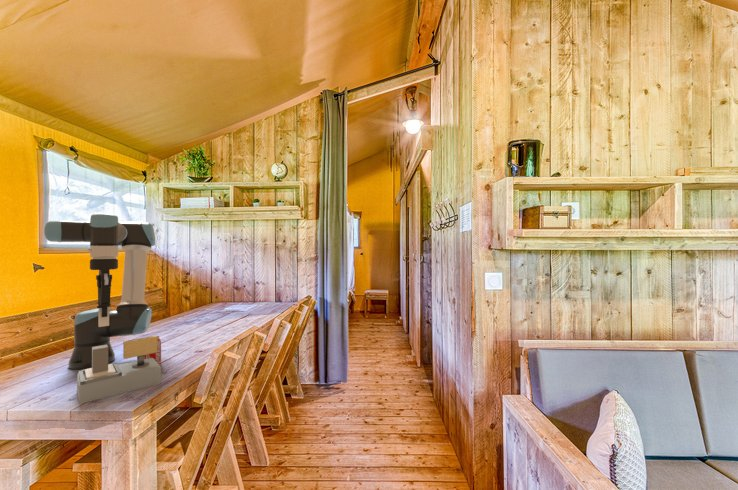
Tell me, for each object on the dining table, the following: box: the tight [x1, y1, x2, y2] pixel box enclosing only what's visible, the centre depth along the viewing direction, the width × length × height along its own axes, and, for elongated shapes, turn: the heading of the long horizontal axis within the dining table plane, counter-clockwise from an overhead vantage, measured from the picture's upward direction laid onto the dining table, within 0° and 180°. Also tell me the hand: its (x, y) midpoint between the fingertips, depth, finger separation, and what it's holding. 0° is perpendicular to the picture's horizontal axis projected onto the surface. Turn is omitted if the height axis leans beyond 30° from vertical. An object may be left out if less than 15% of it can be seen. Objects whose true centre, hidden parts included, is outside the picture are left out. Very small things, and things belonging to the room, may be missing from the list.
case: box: [76, 358, 162, 405], centre depth 111 cm, size 14×22×7 cm, turn 135°
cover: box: [84, 345, 116, 380], centre depth 108 cm, size 10×7×10 cm
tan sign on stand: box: [122, 335, 158, 366], centre depth 116 cm, size 2×10×10 cm, turn 135°
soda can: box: [144, 335, 162, 365], centre depth 131 cm, size 7×7×12 cm
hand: (103, 325), depth 109 cm, fingers closed
